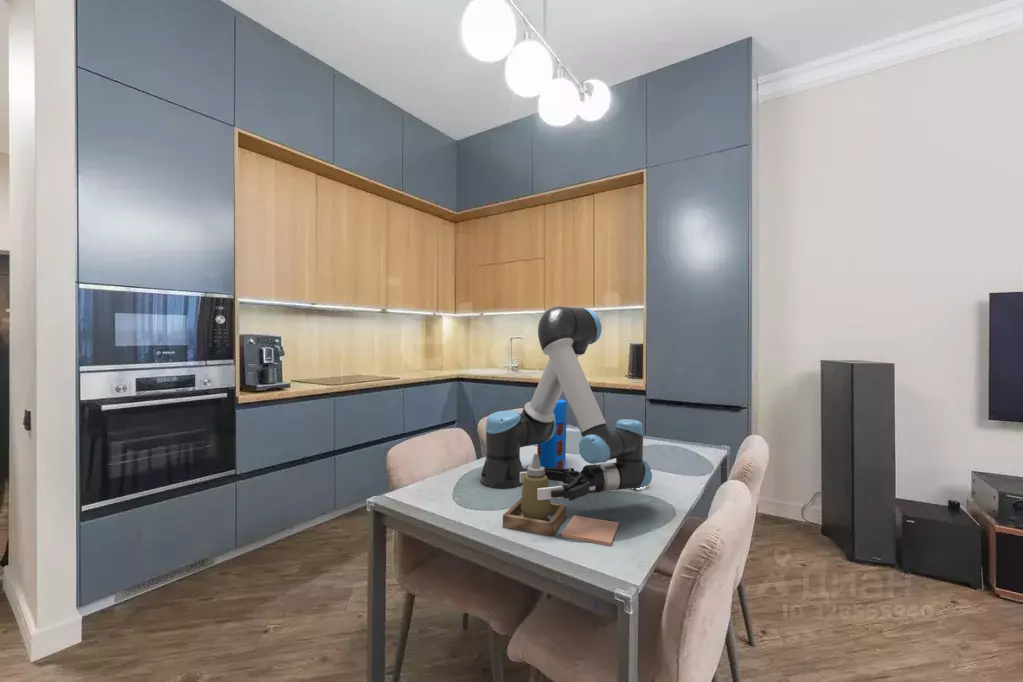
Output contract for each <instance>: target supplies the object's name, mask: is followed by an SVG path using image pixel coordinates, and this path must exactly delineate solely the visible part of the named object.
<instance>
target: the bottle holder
mask: <svg viewBox="0 0 1023 682" xmlns="http://www.w3.org/2000/svg"><path fill="white" fill-rule="evenodd" d="M521 499H522V497H520V498H519V499H518V500H517V501H516V502H515V503H514V504H513V505H512V506H511V507H510V508H509V509H508V510H507V511H505V513H503V515H502V527H503V528H506V529H507V528H508V529H513V530H516V531H517V530H518V531H521V532H522V531H523V532H528V533H533V534H537V535H543V536H548V537H553V536H554V534H555V533H556V532H557V530H558V528H559V527H560V526H561V524H562V523H563V522H564V520H565V519H566V517H567V504H563V503H556V502H551V501H550V505H551V509H550V512H549V515H548V516H552V517H551V518H550V520H549V521H548V520H547V521H543V520H538V519H532V518H526V517H523V516H520V515H521V514H522V510H521Z"/></svg>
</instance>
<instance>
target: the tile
mask: <svg viewBox="0 0 1023 682" xmlns="http://www.w3.org/2000/svg"><path fill="white" fill-rule="evenodd" d="M619 523H620V522H617V521H609V520H604V519H599V518H594V517H586V516H581V515H574V514H573V516H572V518H571V519H570V520H569V522H568V523H567V525H566V527H565V528H564V530H563V531H562V533H561V537H562V538H565V539H572V540H575V541H576V540H577V541H582V542H585V543H586V542H588V543H593V544H598V545H604V546H609V547H612V544H613V541H614V539H615V537H616V535H617V534H616V533H617V531H618V529H619V525H620V524H619Z"/></svg>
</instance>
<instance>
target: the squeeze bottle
mask: <svg viewBox="0 0 1023 682" xmlns="http://www.w3.org/2000/svg"><path fill="white" fill-rule="evenodd" d="M526 472H527V475H525V476H524V481H523V484H522V492H521V498H522V499H521V498H520V499H521V510H522V513H521V514H522V517H526V518H532V519H538V520H543V521H548V517H549V516H550V515H549V512H550V509H551V505H550V502H551V499H545V500H538V499H537V488H547V487H550V485H549V480H548V477H547V476H546V475H544V474H545V468H544V467H542V466H541V465H540V460H539V456H538V454H537V453H533V457H532V461H531V465H528V467H527V469H526Z"/></svg>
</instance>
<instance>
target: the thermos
mask: <svg viewBox="0 0 1023 682" xmlns="http://www.w3.org/2000/svg"><path fill="white" fill-rule="evenodd" d="M567 405H568V404H567V400H564V399H560V398H559V400H558V402H557V404H556V406H555V408H554V411H553V412H554V414H555V420H556V423H555V425H556V431H555V434H554V436H553V437H552V438H551V439H550V440H549V441H547V442H544V443H542V444H537V452H536V454H538V456H539V460H540V465H541V466H542V467H547V468H565V467H566V466H565V465H566V457H567V455H566V453H567V451H566V450H567V446H566V445H567V444H566V443H567V407H568V406H567Z"/></svg>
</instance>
